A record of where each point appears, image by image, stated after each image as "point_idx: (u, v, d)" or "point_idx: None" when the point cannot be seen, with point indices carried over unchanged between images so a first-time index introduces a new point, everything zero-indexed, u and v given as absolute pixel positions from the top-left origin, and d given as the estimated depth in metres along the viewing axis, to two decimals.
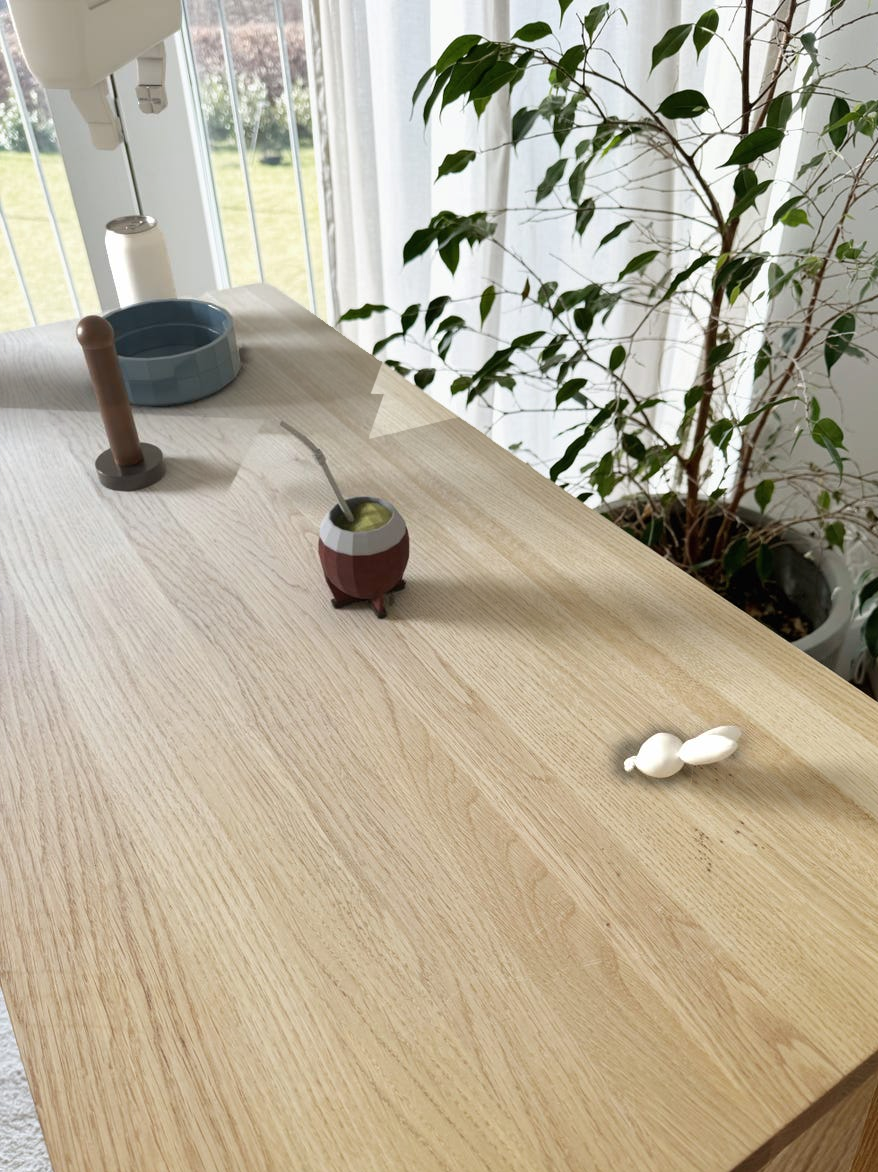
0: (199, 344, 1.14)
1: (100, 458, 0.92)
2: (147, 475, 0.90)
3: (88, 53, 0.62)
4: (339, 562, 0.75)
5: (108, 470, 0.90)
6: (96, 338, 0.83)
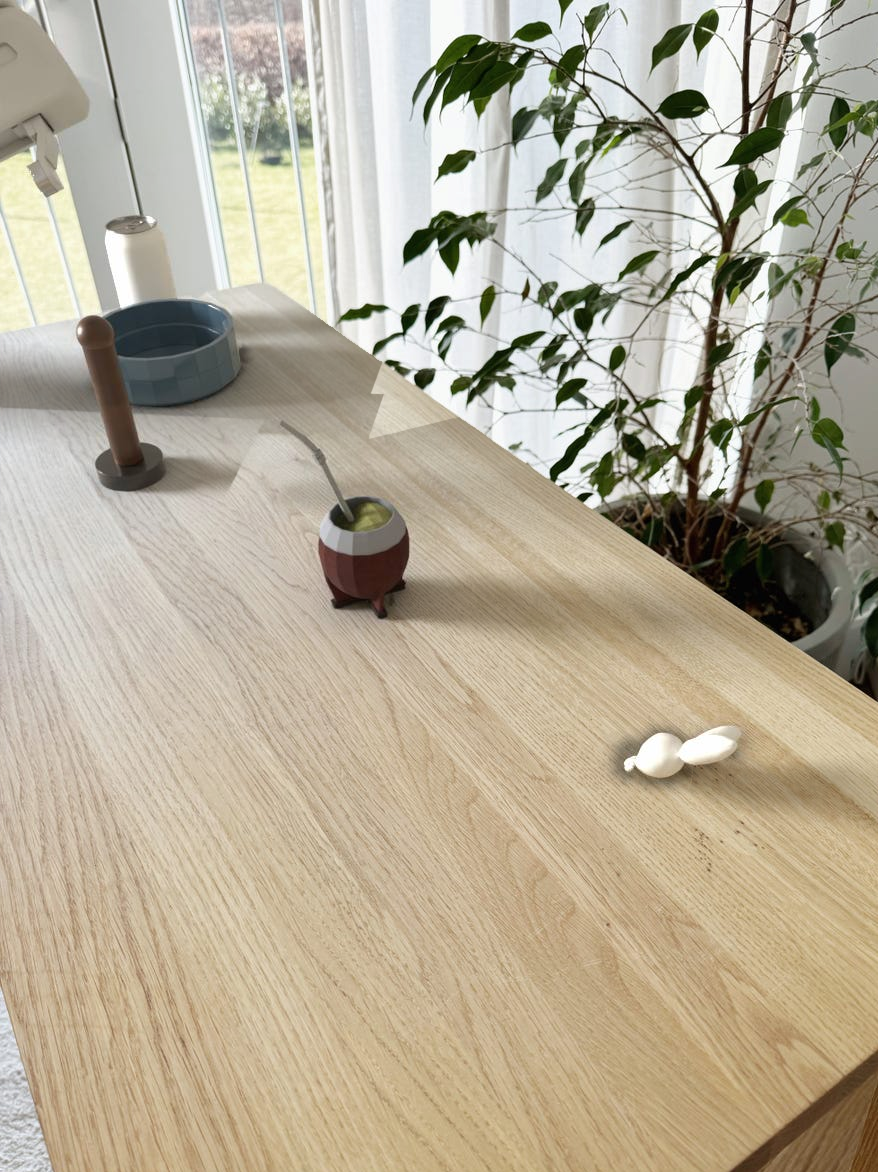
0: (199, 344, 1.14)
1: (100, 458, 0.92)
2: (147, 475, 0.90)
3: None
4: (339, 562, 0.75)
5: (108, 470, 0.90)
6: (96, 338, 0.83)
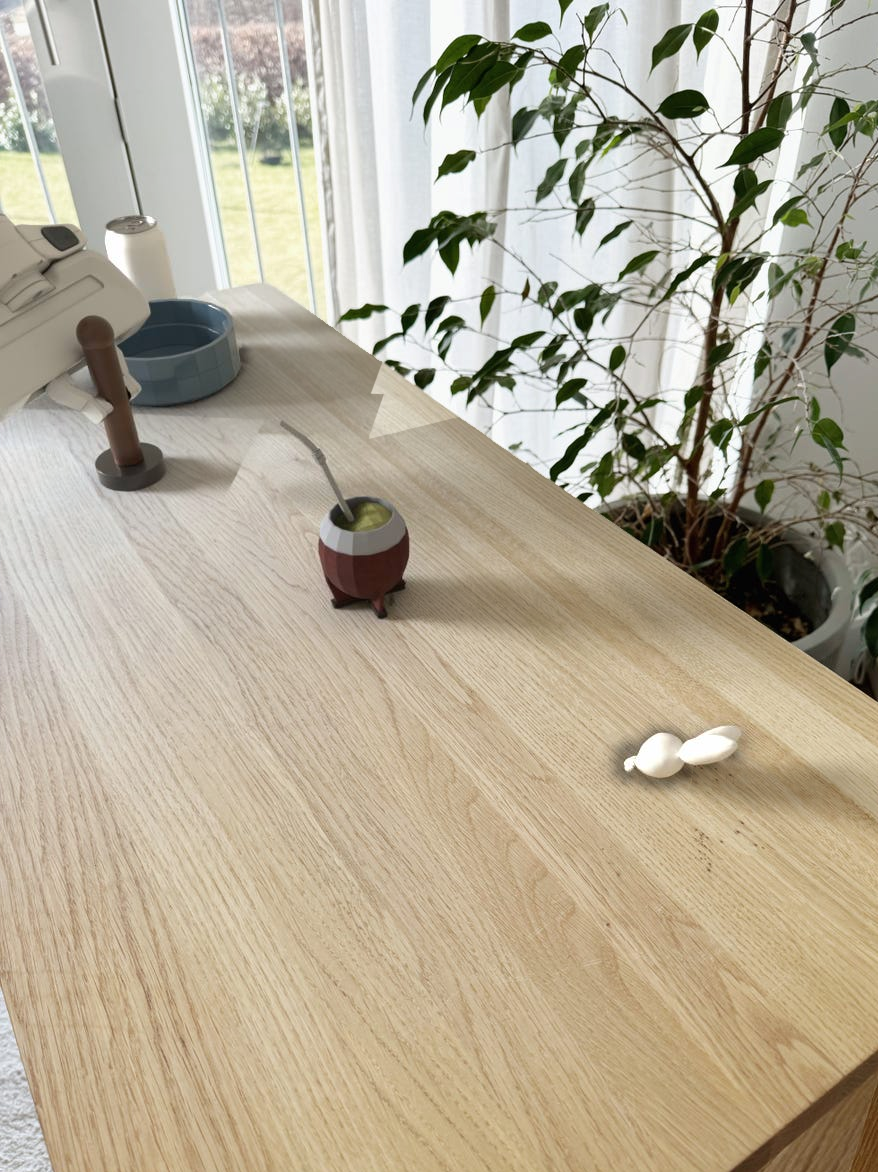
0: (199, 344, 1.14)
1: (100, 458, 0.92)
2: (147, 475, 0.90)
3: None
4: (339, 562, 0.75)
5: (108, 470, 0.90)
6: (96, 338, 0.83)
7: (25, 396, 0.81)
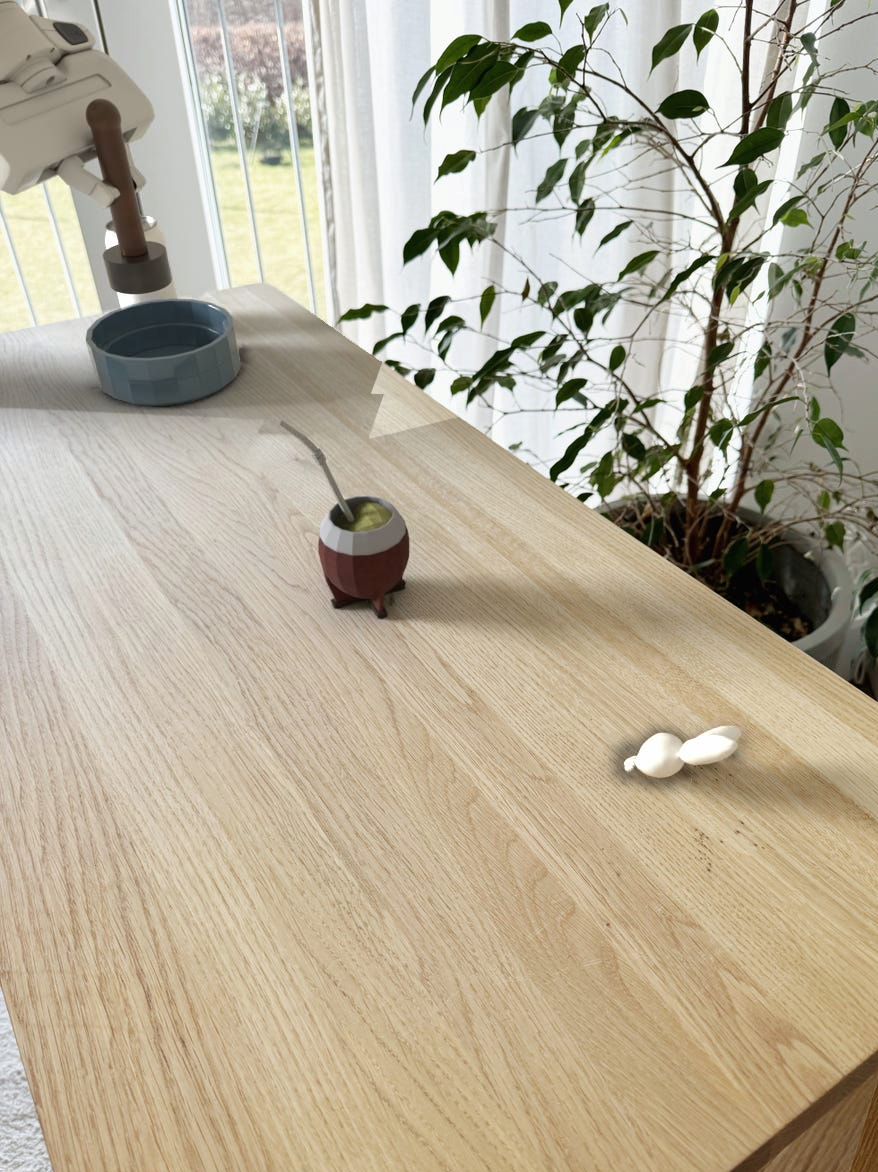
0: (199, 344, 1.14)
1: (107, 251, 0.98)
2: (151, 265, 0.97)
3: None
4: (339, 562, 0.75)
5: (115, 259, 0.96)
6: (104, 119, 0.89)
7: (38, 168, 0.87)
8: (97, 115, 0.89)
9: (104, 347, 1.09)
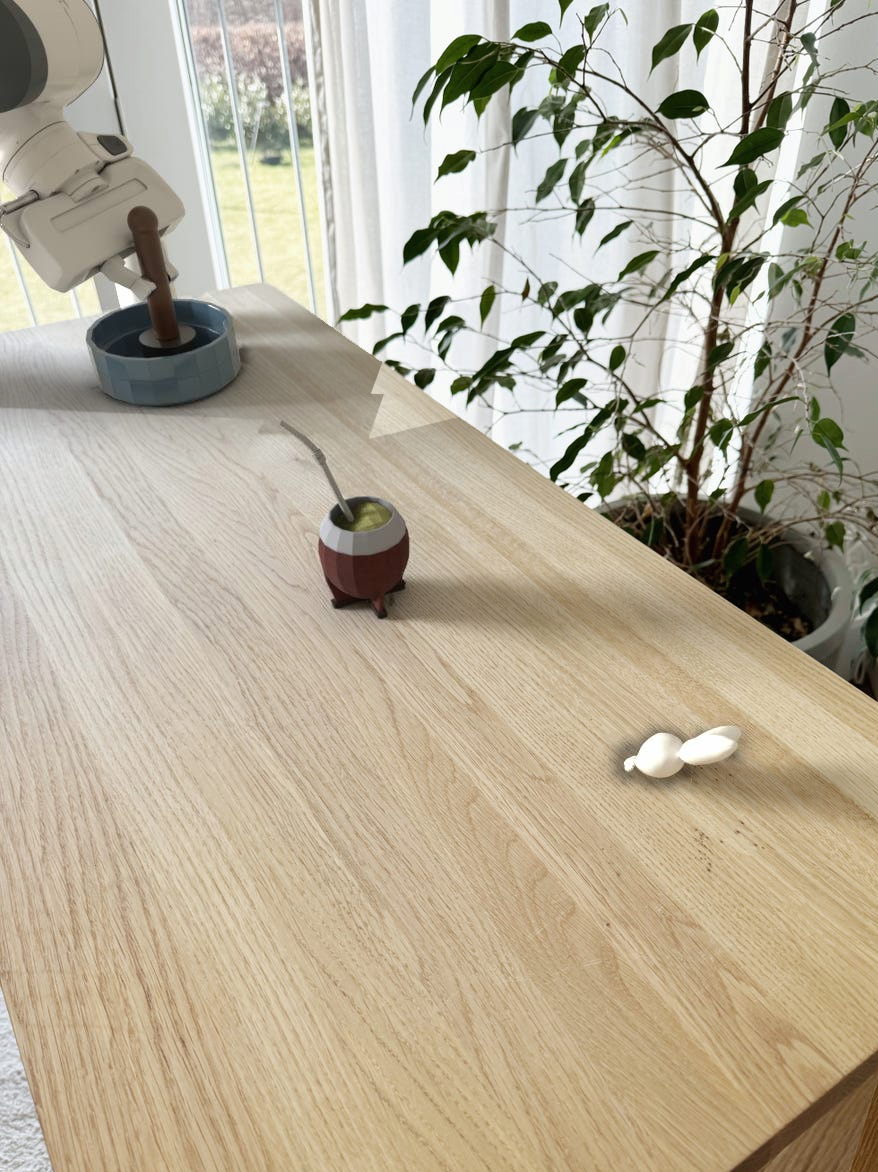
0: (199, 344, 1.14)
1: (143, 335, 1.09)
2: (183, 348, 1.08)
3: None
4: (339, 562, 0.75)
5: (150, 343, 1.07)
6: (144, 224, 1.00)
7: (86, 269, 0.98)
8: (138, 221, 1.00)
9: (104, 347, 1.09)
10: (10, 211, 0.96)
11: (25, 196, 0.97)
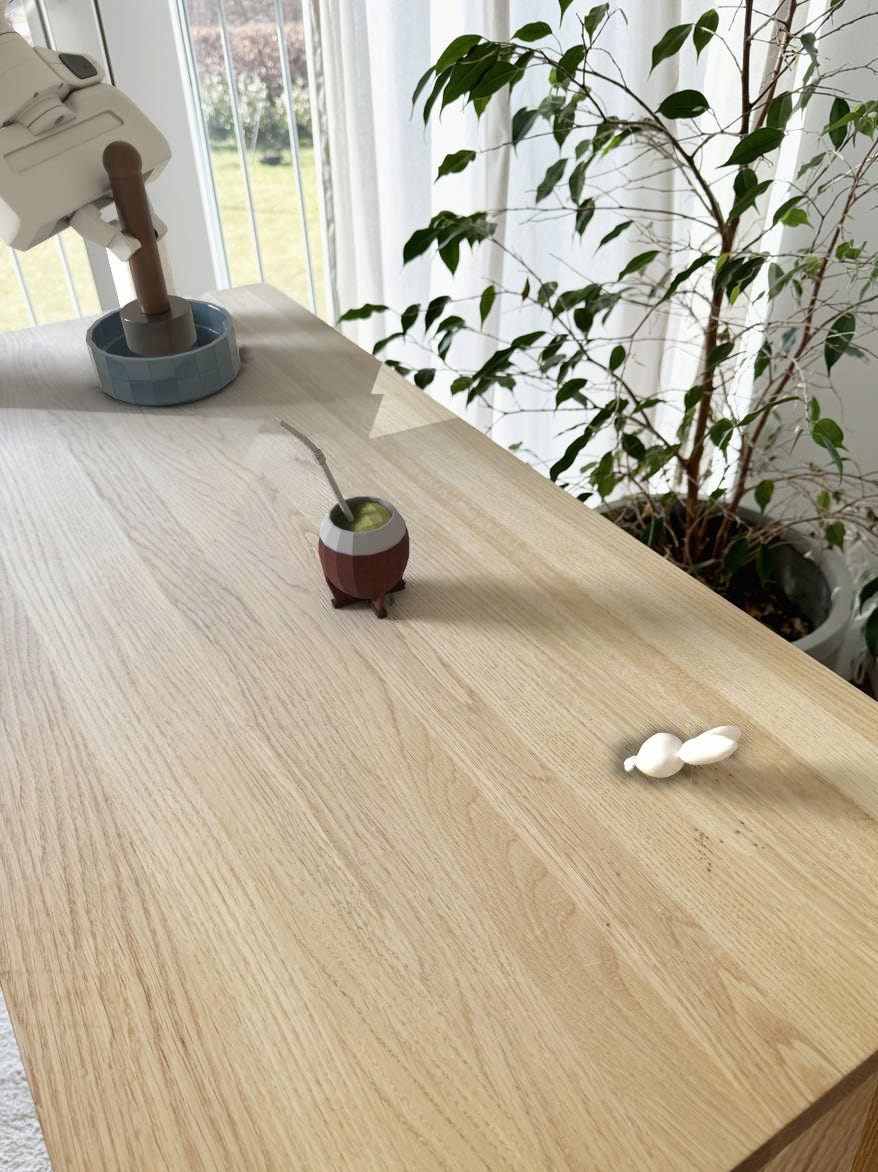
0: (199, 344, 1.14)
1: (124, 308, 0.87)
2: (176, 323, 0.86)
3: None
4: (339, 562, 0.75)
5: (135, 318, 0.86)
6: (125, 163, 0.78)
7: (52, 220, 0.76)
8: (116, 159, 0.78)
9: (104, 347, 1.09)
10: None
11: None
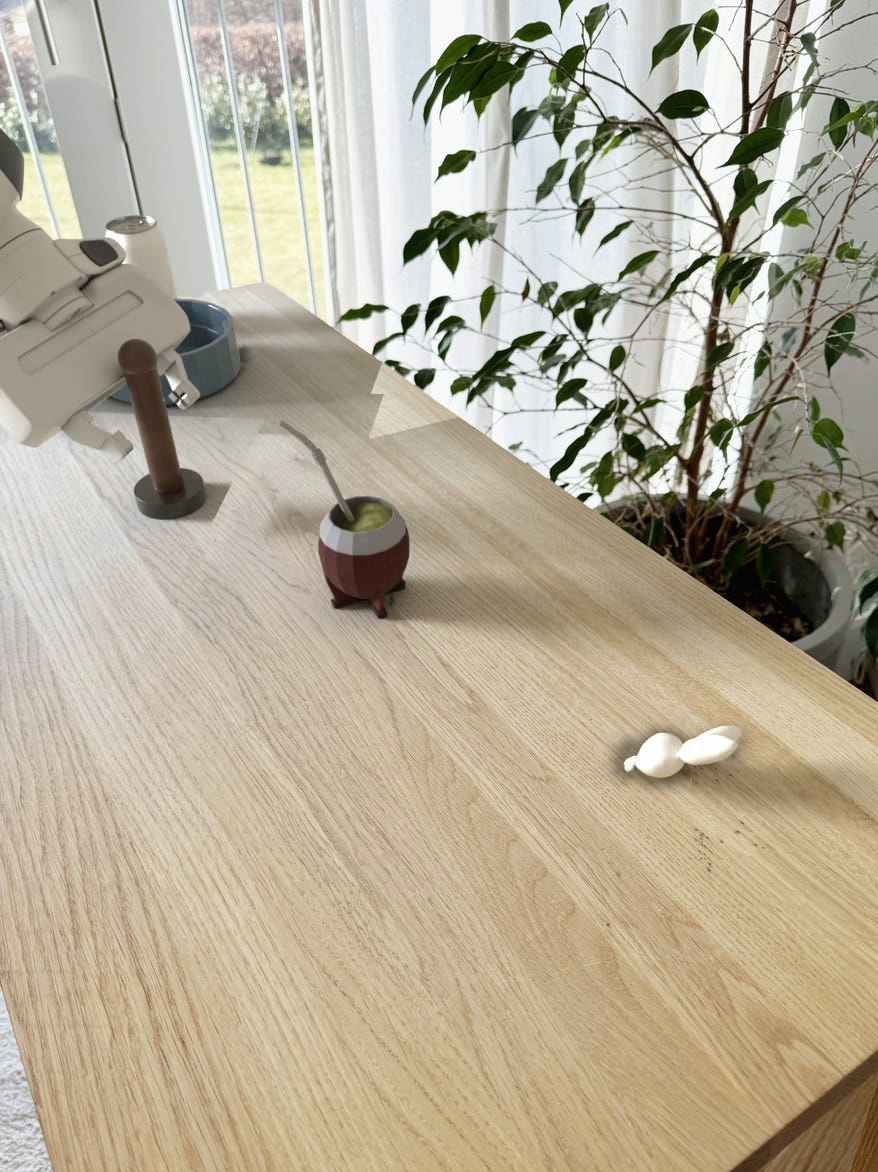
0: (199, 344, 1.14)
1: (139, 485, 0.88)
2: (187, 503, 0.87)
3: None
4: (339, 562, 0.75)
5: (147, 498, 0.87)
6: (139, 363, 0.79)
7: (64, 420, 0.77)
8: (131, 359, 0.79)
9: None
10: None
11: None
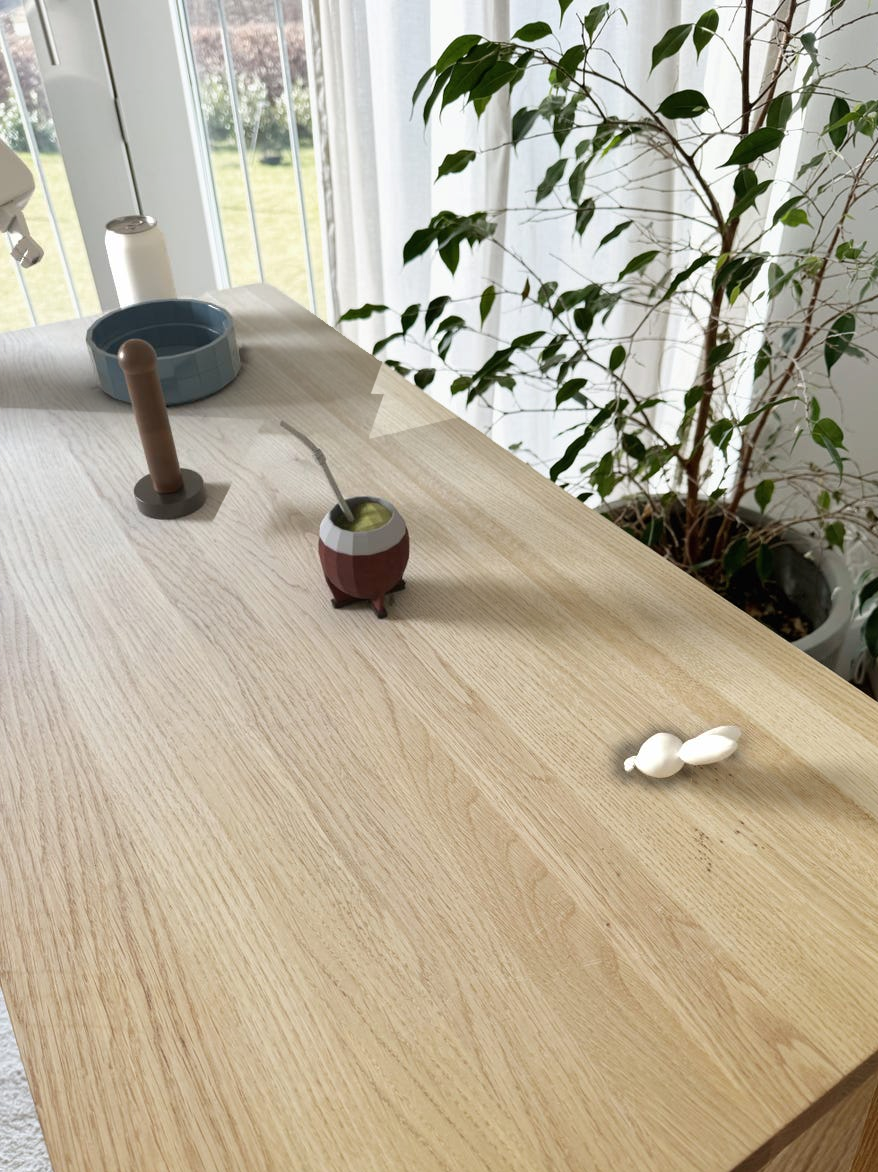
0: (199, 344, 1.14)
1: (139, 485, 0.88)
2: (187, 503, 0.87)
3: None
4: (339, 562, 0.75)
5: (147, 498, 0.87)
6: (139, 363, 0.79)
7: None
8: (131, 359, 0.79)
9: (104, 347, 1.09)
10: None
11: None
